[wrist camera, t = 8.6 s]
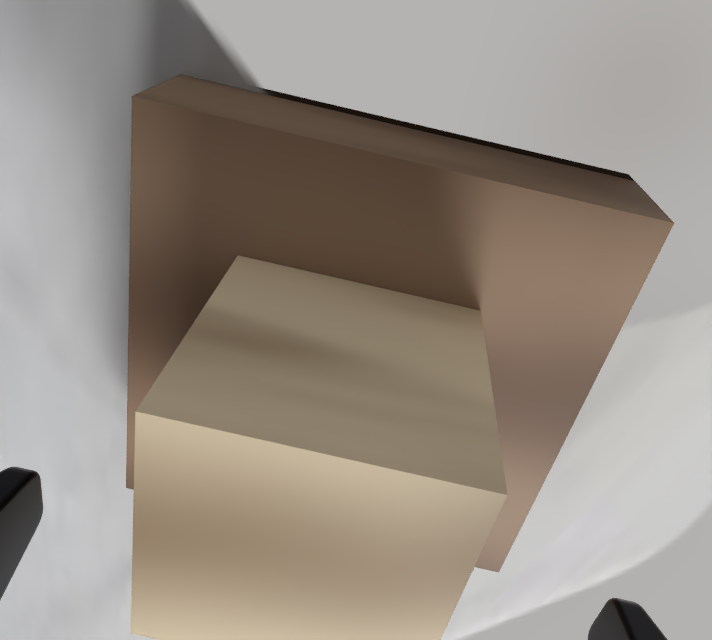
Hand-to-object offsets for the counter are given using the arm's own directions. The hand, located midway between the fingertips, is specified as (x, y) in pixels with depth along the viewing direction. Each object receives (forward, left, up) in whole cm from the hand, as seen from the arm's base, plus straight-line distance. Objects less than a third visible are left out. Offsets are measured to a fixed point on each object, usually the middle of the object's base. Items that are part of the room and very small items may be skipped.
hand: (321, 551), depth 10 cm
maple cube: (0, 0, -5) cm, 5 cm away
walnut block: (0, 0, -8) cm, 8 cm away
